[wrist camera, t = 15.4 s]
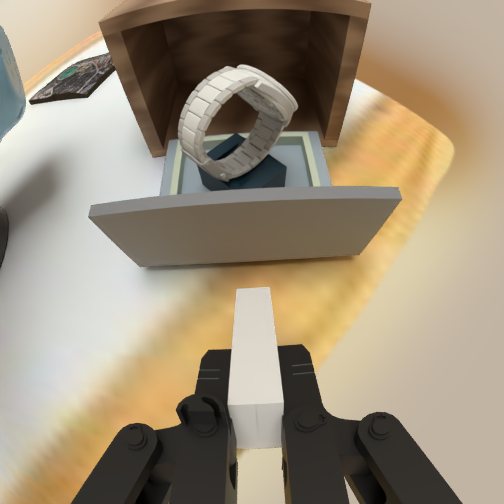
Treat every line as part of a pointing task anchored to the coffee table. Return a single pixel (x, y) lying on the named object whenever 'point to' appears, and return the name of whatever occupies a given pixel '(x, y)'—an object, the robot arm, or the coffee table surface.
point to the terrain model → (77, 80)
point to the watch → (237, 147)
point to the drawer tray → (247, 212)
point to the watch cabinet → (236, 59)
